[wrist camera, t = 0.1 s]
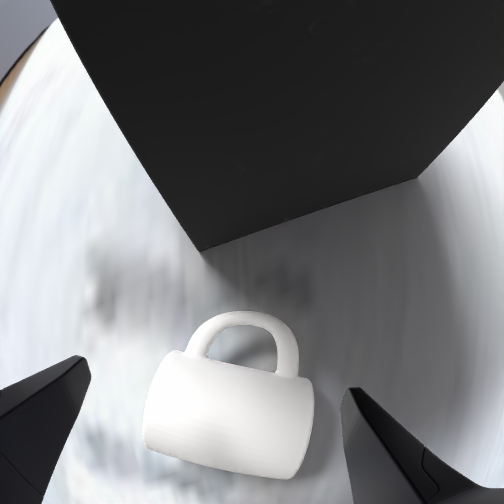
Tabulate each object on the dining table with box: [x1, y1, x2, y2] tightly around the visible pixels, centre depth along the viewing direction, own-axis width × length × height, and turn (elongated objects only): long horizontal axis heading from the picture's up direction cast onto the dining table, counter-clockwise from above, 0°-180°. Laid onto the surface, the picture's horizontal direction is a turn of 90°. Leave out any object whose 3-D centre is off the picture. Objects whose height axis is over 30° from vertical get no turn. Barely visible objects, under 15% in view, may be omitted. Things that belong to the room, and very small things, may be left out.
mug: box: [142, 311, 314, 480], centre depth 18 cm, size 12×10×8 cm
